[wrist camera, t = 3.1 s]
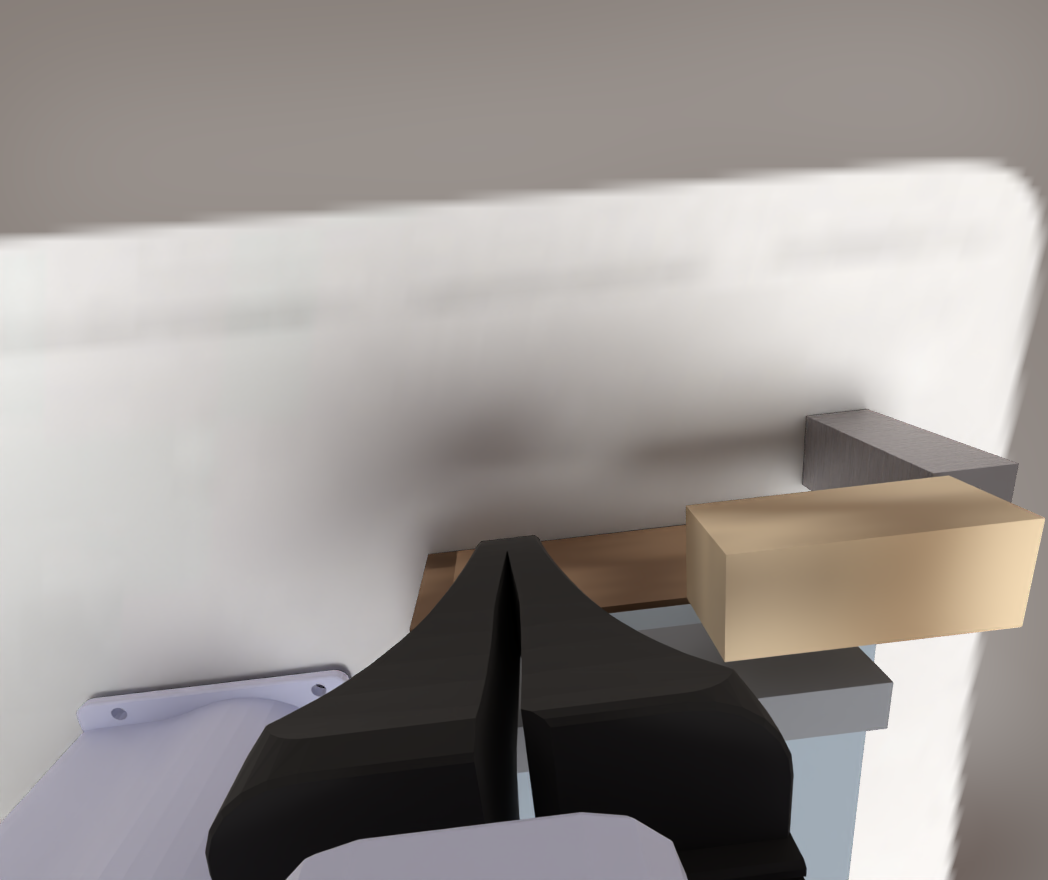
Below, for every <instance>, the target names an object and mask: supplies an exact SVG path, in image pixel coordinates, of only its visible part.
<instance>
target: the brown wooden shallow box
mask: <svg viewBox="0 0 1048 880" xmlns="http://www.w3.org/2000/svg"><path fill="white" fill-rule="evenodd" d="M541 543H542V545H543V546H544V548H545V549H546V551H547V552H548V554H549V555H550V556H551V558H552V559H553V560H554V562H555V563H556V564H557V565H558V566H559V568H560V569H561V570H562V571H563V572H564V573H565V574H566V575H567V577H568V578H569V579H570V580H571V581H572V582H573V583H574V584H575V585H576V586H577V587H578V588H579V589H580V590H581V591H582V592H583V593H585V594H586V595H587V596H588V597H589V598H590V599H591V600H592V601H594V602H595V603H596V604H597V605H598V606H600V607H601V608H602V609H604V610H605V611H606V612H608V613H617V612H626V611H634V610H643V609H652V608H660V607H669V606H677V605H686V604H690V602H689V601H688V599H687V571H686V525H680V526H671V527H662V528H653V529H645V530H636V531H627V532H619V533H610V534H601V535H592V536H584V537H575V538H566V539H558V540H549V541H541ZM474 550H475V549H470V550H462V551H453V552H444V553H436V554H428V558H427V562H426V566H425V570H424V574H423V578H422V582H421V586H420V590H419V594H418V598H417V602H416V606H415V610H414V614H413V618H412V622H411V626H410V632H411V631H412V630H413V629H414V628H415V627H416V626H417V625H418V624H419V623H420V622H421V621H422V620H423V619H424V618H425V617H426V616H427V615H428V614H429V613H430V612H431V610H432V609H433V608H434V607H435V605H436V604H437V603H438V602H439V601H440V599H441V598H442V597H443V596H444V595H445V593H446V592H447V591H448V589H449V588H450V587H451V585H452V584H453V582H454V581H455V580H456V578H457V577H458V575H459V574H460V573H461V571H462V570H463V568H464V567H465V565H466V564H467V562H468V560H469V559H470V557H471V556H472V554H473V552H474Z"/></svg>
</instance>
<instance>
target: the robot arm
mask: <svg viewBox="0 0 1048 880" xmlns="http://www.w3.org/2000/svg"><path fill="white" fill-rule="evenodd" d="M520 657H521V662H522V681H521V715H522V722H523V730H524V738H525V745H526V753H527V760H528V768H529V775H530V783H531V791H532V798H533V806H534V813H535V818H529V819H521V820H520V817H519V798H518V779H517V734H518V710H519V685H520ZM316 684H320V685H323V686H325V688H320V687H318V686H317V685H316ZM76 714H77V719H78V721H79V723H80V725H81V728H82V730H83V733H82V734H81V735H80V736H79V737H78V738H77V739H76V740H75V741H74V743H73V744H72V745H71V746H70V747H69V748H68V749H67V750H66V751H65V752H64V754H63V755H62V756H61V757H60V758H59V759H58V760H57V761H56V762H55V763H54V765H53V766H52V767H51V768H50V769H49V770H48V771H47V772H46V773H45V774H44V776H43V777H42V778H41V779H40V780H39V781H38V782H37V783H36V784H35V785H34V787H33V788H32V789H31V790H30V791H29V792H28V793H27V794H26V795H25V796H24V797H23V799H22V800H21V801H20V802H19V803H18V804H17V805H16V806H15V807H14V808H13V810H12V811H11V812H10V813H9V814H8V815H7V816H6V817H5V818H4V819H3V821H2V822H1V823H0V880H805V879H804V877H806V874H807V867H806V864H805V860H804V858H803V856H802V854H801V852H800V850H799V848H798V846H797V845H796V843H795V841H794V839H793V837H792V835H791V833H790V825H791V810H792V794H793V779H794V772H793V763H792V754H791V752H790V750H789V748H788V746H787V744H786V742H785V740H784V738H783V736H782V734H781V732H780V731H779V729H778V727H777V726H776V724H775V723H774V721H773V719H772V718H771V716H770V715H769V713H768V712H767V710H766V709H765V708H764V706H763V705H762V704H761V702H760V701H759V700H758V699H757V697H756V696H755V695H754V693H753V692H752V691H751V690H750V688H749V687H748V686H747V685H746V684H745V682H744V681H743V680H742V679H741V677H740V676H739V675H738V674H737V673H736V671H735V670H734V669H731V668H728V667H725V666H722V665H719V664H716V663H713V662H710V661H707V660H704V659H701V658H698V657H695V656H692V655H689V654H686V653H684V652H681V651H679V650H676V649H674V648H672V647H670V646H667V645H665V644H663V643H660V642H658V641H656V640H654V639H652V638H650V637H648V636H646V635H644V634H642V633H640V632H639V631H637V630H635V629H633V628H632V627H630V626H628V625H626V624H625V623H623V622H621V621H620V620H618V619H616V618H615V617H613V616H612V615H610V614H609V613H608V612H606V611H605V610H604V609H602V608H601V607H600V606H598V605H597V604H596V603H595V602H594V601H592V600H591V599H590V598H589V597H588V596H587V595H586V594H585V593H583V592H582V591H581V590H580V589H579V588H578V587H577V586H576V585H575V584H574V583H573V582H572V581H571V580H570V579H569V578H568V577H567V575H566V574H565V573H564V572H563V571H562V570H561V569H560V568H559V566H558V565H557V564H556V563H555V562H554V560H553V559H552V558H551V556H550V555H549V554H548V552H547V551H546V549H545V548H544V546H543V545H542V543H541V541H540V539H539V538H538V537H536V536H535V535H531V536H523V537H514V538H505V539H497V540H488V541H481V542H480V543H479V544H478V546H477V547H476V549H475V550H474V552H473V554H472V556H471V557H470V559H469V560H468V562H467V564H466V565H465V567H464V568H463V570H462V571H461V573H460V574H459V575H458V577H457V578H456V580H455V581H454V582H453V584H452V585H451V587H450V588H449V589H448V591H447V592H446V593H445V595H444V596H443V597H442V598H441V599H440V601H439V602H438V603H437V604H436V605H435V607H434V608H433V609H432V610H431V612H430V613H429V614H428V615H427V616H426V617H425V618H424V619H423V620H422V621H421V622H420V623H419V624H418V625H417V626H416V627H415V628H414V629H413V630H412V631H411V632H410V633H409V634H408V635H407V636H405V637H404V638H403V639H402V640H401V641H400V642H399V643H397V644H396V645H395V646H393V647H392V648H391V649H390V650H388V651H387V652H386V653H385V654H383V655H382V656H381V657H380V658H378V659H377V660H376V661H375V662H373V663H372V664H371V665H369V666H368V667H367V668H365V669H364V670H362V671H361V672H359V673H358V674H356V675H355V676H353V677H352V678H351V679H349V677H348V675H346V674H345V673H344V672H342V671H339V670H329V671H321V672H312V673H304V674H295V675H287V676H278V677H270V678H261V679H253V680H244V681H236V682H227V683H219V684H210V685H202V686H193V687H185V688H176V689H168V690H159V691H151V692H142V693H134V694H125V695H117V696H108V697H100V698H92V699H89V700H87V701H86V702H85V703H84V704H83V705H82V706H81V707H80V708H79V709H78V710H77V713H76Z"/></svg>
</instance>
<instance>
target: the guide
mask: <svg viewBox="0 0 1048 880" xmlns="http://www.w3.org/2000/svg"><path fill="white" fill-rule="evenodd" d="M1017 470H1018V463H1016V462H1013V461H1010V460H1008V459H1005V458H1002V457H999V456H996V455H994V454H991V453H988V452H985V451H982V450H980V449H977V448H974V447H971V446H969V445H966V444H963V443H960V442H957V441H955V440H952V439H949V438H946V437H944V436H941V435H938V434H935V433H932V432H930V431H927V430H924V429H921V428H919V427H916V426H913V425H910V424H907V423H905V422H902V421H899V420H896V419H894V418H891V417H888V416H885V415H882V414H880V413H877V412H874V411H871V410H869V409H865V410H856V411H847V412H838V413H829V414H820V415H811V416H807V419H806V435H805V452H804V468H803V485H804V486H805V487H807V488H808V489H810V490H811V491H817V490H826V489H835V488H843V487H852V486H861V485H870V484H878V483H887V482H896V481H905V480H913V479H922V478H931V477H940V476H948V475H949V476H951V477H953V478H956V479H958V480H960V481H963V482H965V483H967V484H969V485H972V486H974V487H976V488H978V489H981V490H983V491H985V492H987V493H990V494H992V495H994V496H996V497H999V498H1001V499H1003V500H1006V501H1008V502H1010V503H1011V501H1012V496H1013V491H1014V486H1015V480H1016V475H1017Z"/></svg>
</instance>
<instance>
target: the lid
mask: <svg viewBox="0 0 1048 880" xmlns="http://www.w3.org/2000/svg"><path fill="white" fill-rule="evenodd" d="M609 614H610V615H612V616H613V617H615V618H616V619H618V620H620V621H621V622H623V623H625V624H626V625H628V626H630V627H632V628H633V629H635V630H637V631H639V632H640V633H642V634H644V635H646V636H648V637H650V638H652V639H654V640H656V641H658V642H660V643H663V644H665V645H667V646H670V647H672V648H674V649H676V650H679V651H681V652H684V653H686V654H689V655H692V656H695V657H698V658H701V659H704V660H707V661H710V662H713V663H716V664H719V665H722V666H725V667H728V668H731V669H734V670H735V671H736V673H737V674H738V675H739V676H740V677H741V679H742V680H743V681H744V682H745V684H746V685H747V686H748V687H749V688H750V690H751V691H752V692H753V693H754V695H755V696H756V697H757V699H758V700H759V701H760V702H761V704H762V705H763V706H764V708H765V709H766V710H767V712H768V713H769V715H770V716H771V718H772V719H773V721H774V723H775V724H776V726H777V727H778V729H779V731H780V732H781V734H782V736H783V738H784V740H785V742H786V744H787V746H788V748H789V750H790V752H791V754H792V763H793V772H794V779H793V794H792V810H791V825H790V833H791V835H792V837H793V839H794V841H795V843H796V845H797V846H798V848H799V850H800V852H801V854H802V856H803V858H804V860H805V864H806V867H807V874H806V877H804V879H805V880H848V879H849V870H850V862H851V853H852V845H853V836H854V828H855V819H856V811H857V802H858V793H859V785H860V776H861V768H862V759H863V751H864V742H865V734H866V731H870V730H878V729H886V728H887V726H888V719H889V711H890V703H891V696H892V688H893V681H892V680H891V679H890V678H889V677H888V676H887V675H886V674H885V673H884V672H883V671H882V670H881V669H880V668H879V667H878V666H877V665H876V664H875V663H874V657H875V648H876V644H873V645H865V646H857V647H848V648H840V649H831V650H823V651H814V652H806V653H798V654H789V655H781V656H772V657H764V658H755V659H747V660H739V661H730V662H724V660H723V658H722V657H721V655H720V653H719V652H718V650H717V648H716V646H715V645H714V643H713V641H712V640H711V638H710V636H709V635H708V633H707V631H706V629H705V628H704V626H703V624H702V623H701V621H700V619H699V618H698V616H697V614H696V612H695V611H694V609H693V607H692V606H691V604H686V605H677V606H669V607H660V608H652V609H643V610H634V611H626V612H617V613H609ZM521 681H522V662H521V657H520V685H519V710H518V734H517V779H518V798H519V817H520V820H521V819H529V818H535V813H534V806H533V798H532V791H531V783H530V775H529V768H528V760H527V753H526V745H525V738H524V730H523V722H522V715H521Z"/></svg>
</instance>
